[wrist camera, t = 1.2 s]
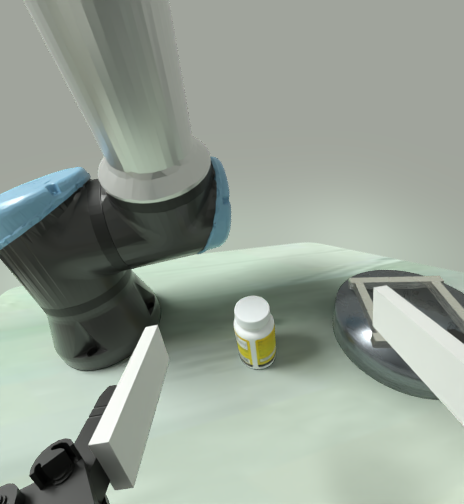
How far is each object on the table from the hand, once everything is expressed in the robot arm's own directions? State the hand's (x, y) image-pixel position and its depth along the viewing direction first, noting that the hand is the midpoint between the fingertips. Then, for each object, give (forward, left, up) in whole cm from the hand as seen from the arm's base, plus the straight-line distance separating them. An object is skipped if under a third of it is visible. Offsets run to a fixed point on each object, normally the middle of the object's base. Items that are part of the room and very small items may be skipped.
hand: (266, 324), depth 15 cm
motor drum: (+8, +19, -17) cm, 26 cm away
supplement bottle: (-6, +7, -17) cm, 19 cm away
